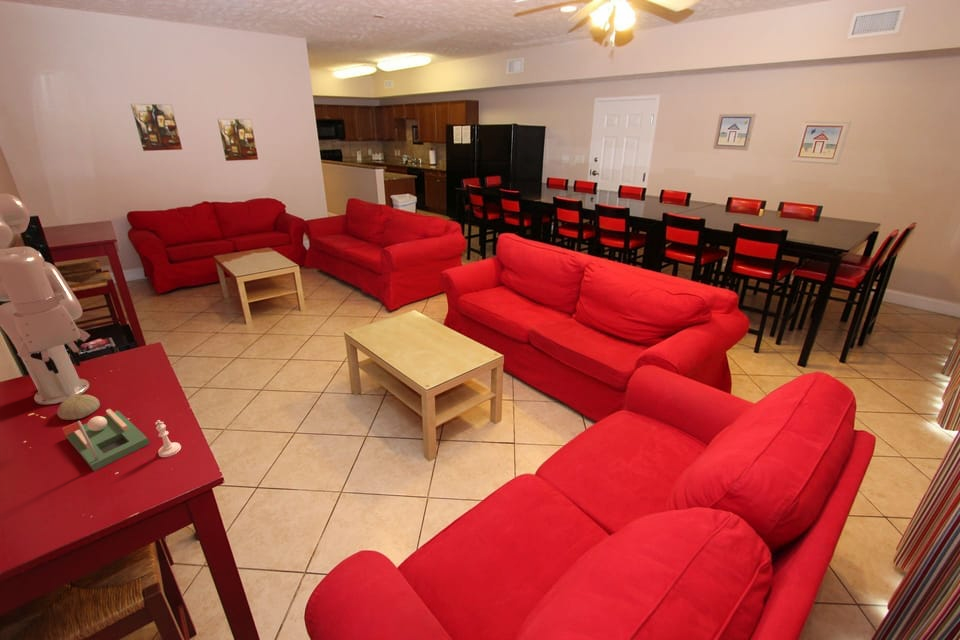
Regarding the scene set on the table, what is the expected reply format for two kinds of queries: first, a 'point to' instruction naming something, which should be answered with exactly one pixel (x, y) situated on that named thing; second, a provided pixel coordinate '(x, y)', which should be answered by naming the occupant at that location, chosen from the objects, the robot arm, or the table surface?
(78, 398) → the sea urchin shell
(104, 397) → the table surface
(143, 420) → the table surface
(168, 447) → the chess piece
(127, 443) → the mat
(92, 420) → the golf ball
